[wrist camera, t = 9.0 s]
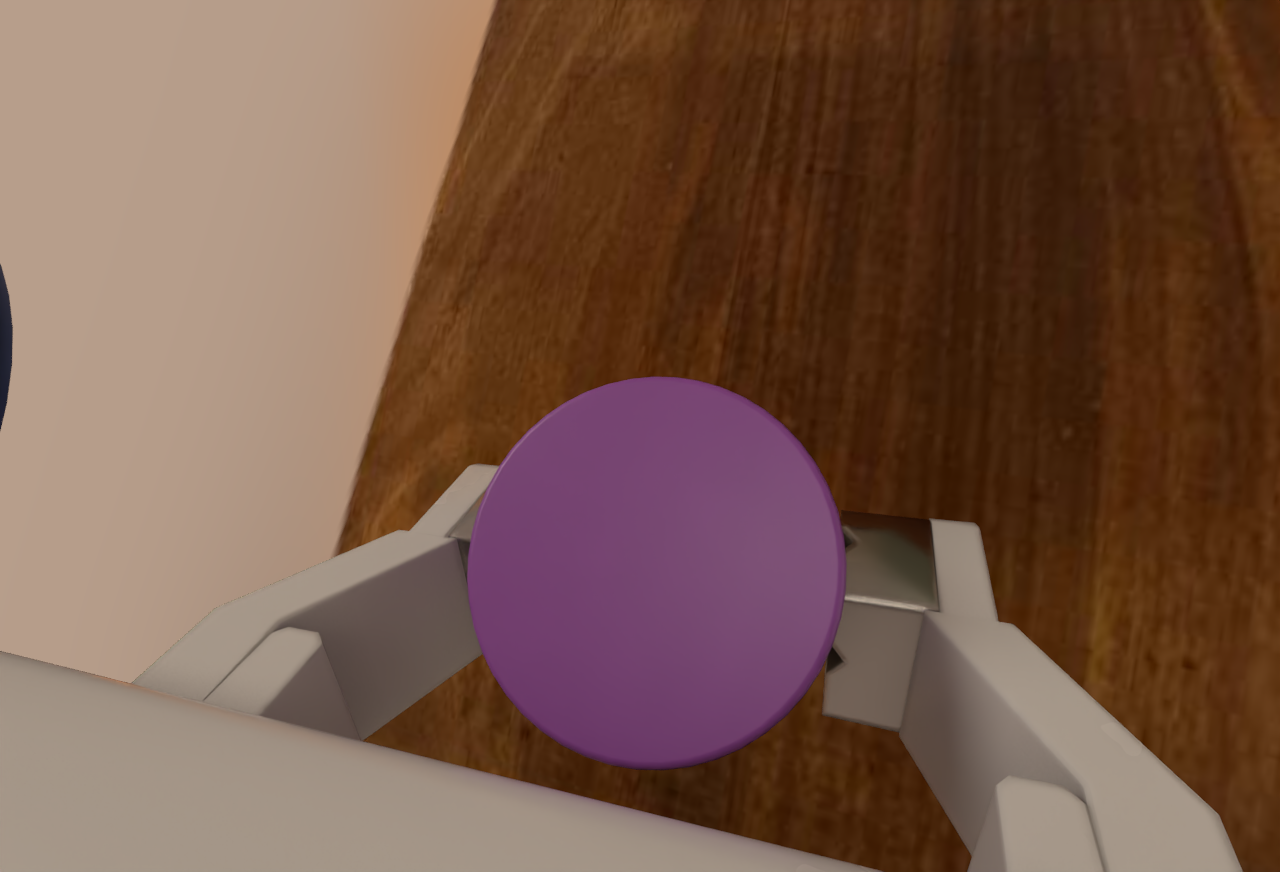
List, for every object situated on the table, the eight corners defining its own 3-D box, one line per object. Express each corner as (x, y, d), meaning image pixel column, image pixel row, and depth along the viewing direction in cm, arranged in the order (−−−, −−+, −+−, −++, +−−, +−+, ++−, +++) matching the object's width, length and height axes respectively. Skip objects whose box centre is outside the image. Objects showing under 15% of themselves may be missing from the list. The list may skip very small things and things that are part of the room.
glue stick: (624, 658, 13) (412, 689, 6) (676, 487, 14) (533, 342, 7) (804, 721, 12) (787, 841, 5) (850, 533, 13) (890, 419, 6)
